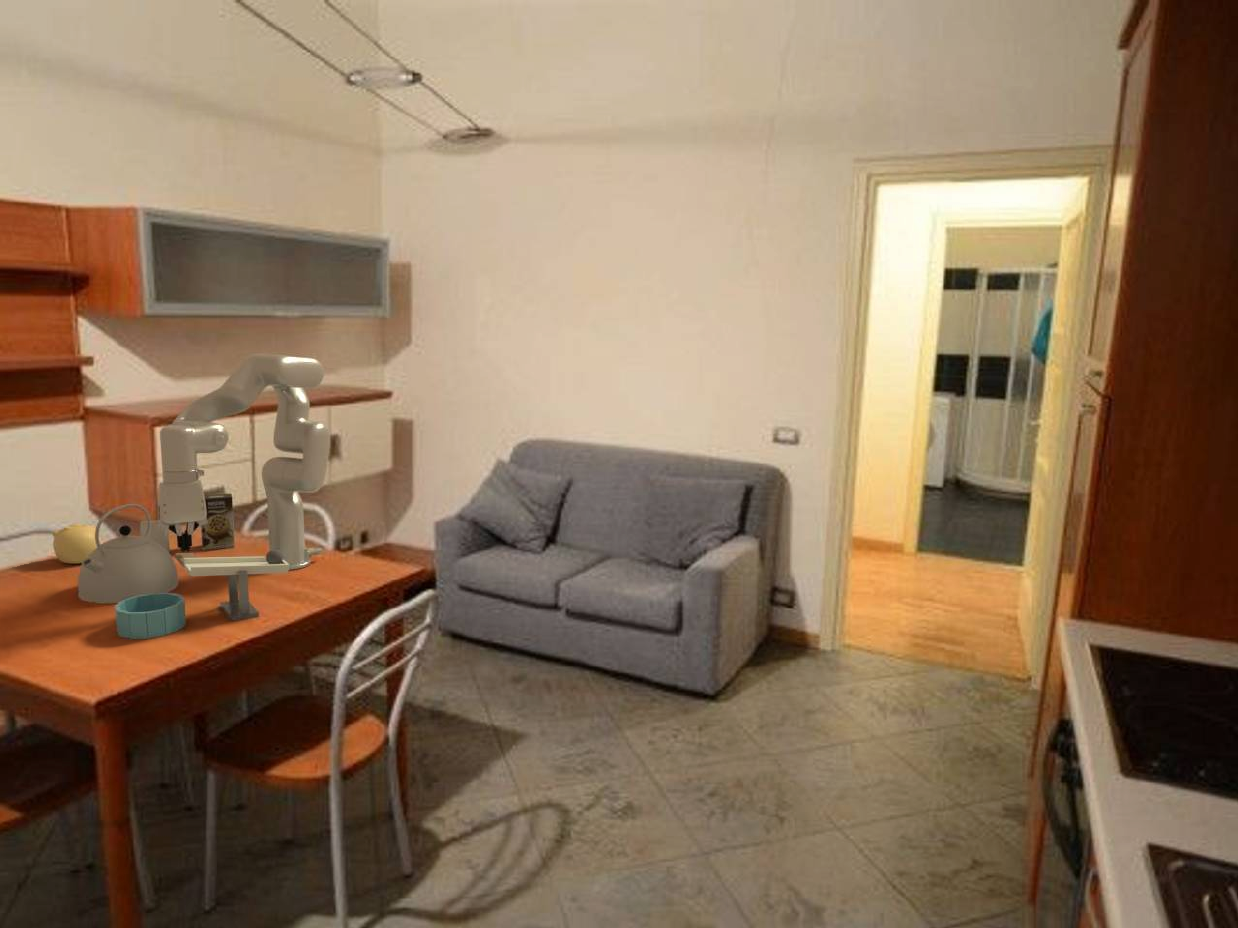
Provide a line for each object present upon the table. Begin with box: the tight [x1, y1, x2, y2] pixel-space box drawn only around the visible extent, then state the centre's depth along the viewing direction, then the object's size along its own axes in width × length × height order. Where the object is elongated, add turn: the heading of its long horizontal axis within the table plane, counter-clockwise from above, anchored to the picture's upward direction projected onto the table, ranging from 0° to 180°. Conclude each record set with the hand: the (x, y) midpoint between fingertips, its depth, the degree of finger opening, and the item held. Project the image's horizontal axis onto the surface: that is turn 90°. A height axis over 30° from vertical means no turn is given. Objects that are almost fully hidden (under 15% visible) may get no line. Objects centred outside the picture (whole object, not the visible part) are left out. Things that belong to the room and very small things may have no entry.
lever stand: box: [219, 571, 260, 622], centre depth 202 cm, size 6×12×12 cm, turn 38°
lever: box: [174, 552, 290, 579], centre depth 205 cm, size 22×18×3 cm
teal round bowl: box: [114, 592, 187, 640], centre depth 191 cm, size 14×14×6 cm
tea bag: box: [139, 520, 171, 554], centre depth 247 cm, size 4×7×10 cm, turn 105°
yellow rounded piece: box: [52, 523, 103, 564], centre depth 238 cm, size 12×12×11 cm
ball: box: [265, 549, 283, 564], centre depth 207 cm, size 4×4×4 cm
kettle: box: [77, 503, 179, 604], centre depth 214 cm, size 25×23×22 cm
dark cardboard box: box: [200, 493, 236, 551], centre depth 256 cm, size 9×6×16 cm
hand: (185, 549), depth 204 cm, fingers closed
